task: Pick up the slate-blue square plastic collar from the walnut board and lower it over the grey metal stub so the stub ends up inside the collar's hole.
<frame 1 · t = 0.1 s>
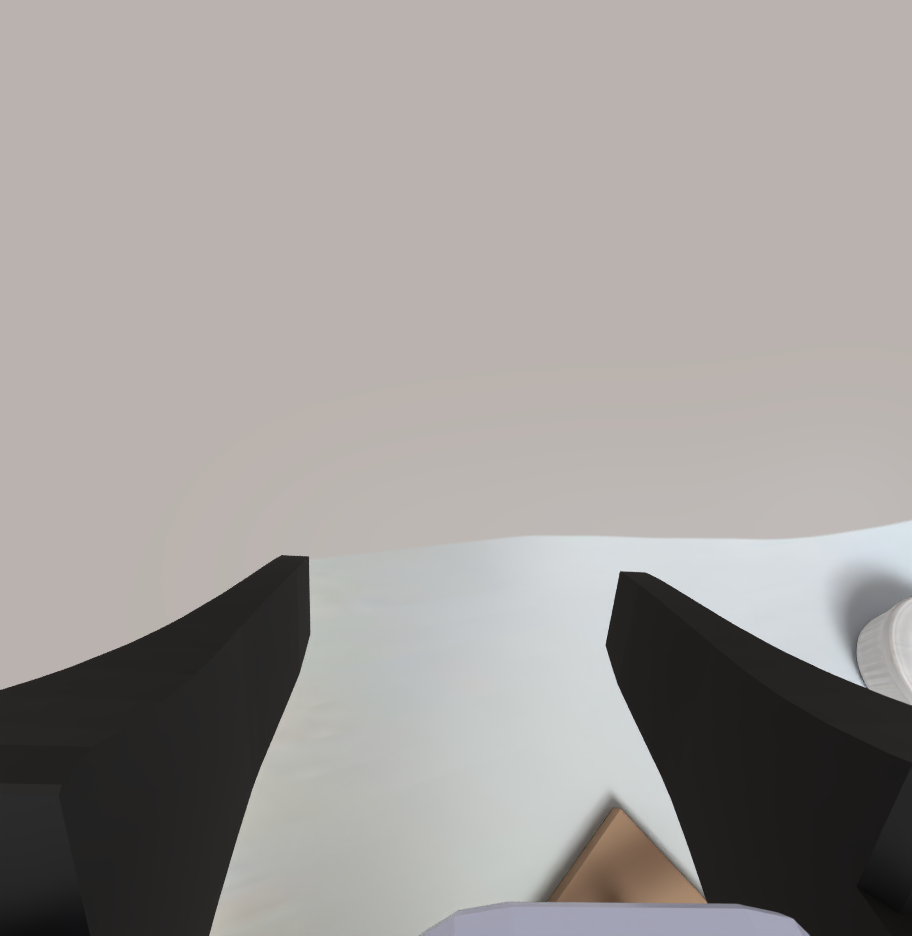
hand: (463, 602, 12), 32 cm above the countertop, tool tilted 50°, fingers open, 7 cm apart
ramekin: (904, 675, 44), on the countertop
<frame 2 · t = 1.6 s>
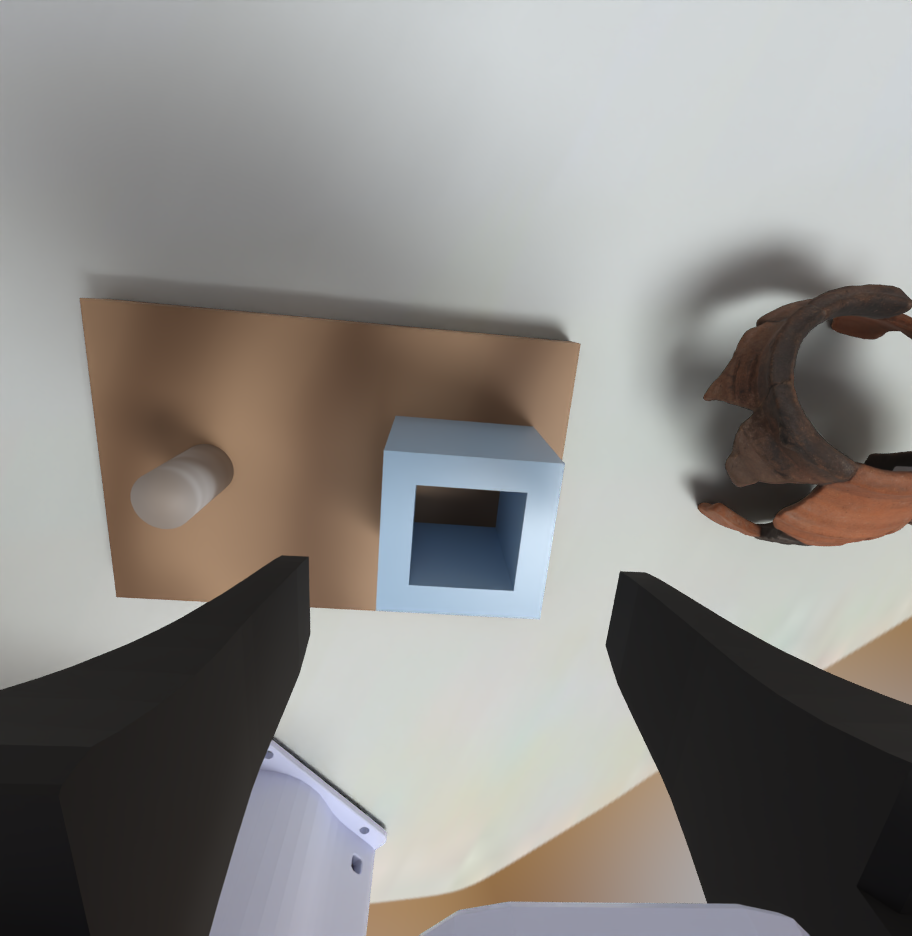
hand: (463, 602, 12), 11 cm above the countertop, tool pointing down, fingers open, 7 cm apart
stub board: (341, 466, 22), on the countertop
collar: (458, 486, 21), point 1 cm above the countertop, touching stub board
brown curled shape: (789, 429, 22), on the countertop
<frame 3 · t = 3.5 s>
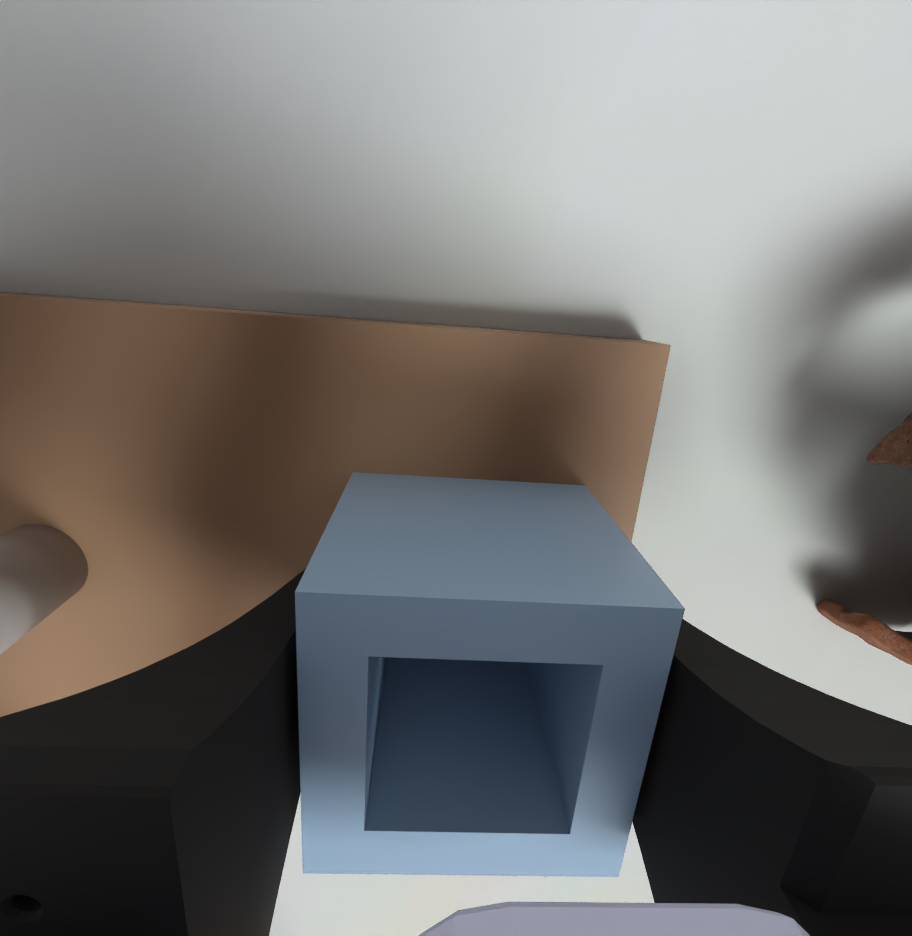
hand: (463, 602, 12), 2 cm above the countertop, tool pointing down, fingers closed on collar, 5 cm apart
stub board: (276, 544, 14), on the countertop
collar: (461, 581, 13), point 1 cm above the countertop, touching gripper, stub board
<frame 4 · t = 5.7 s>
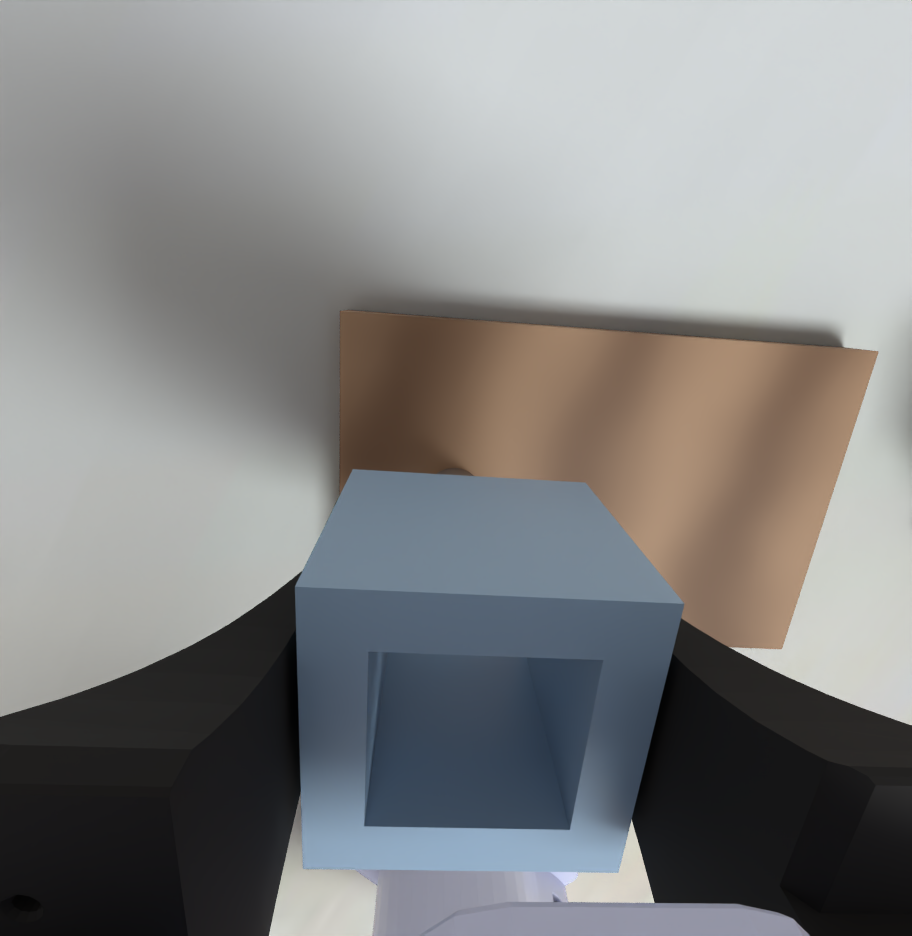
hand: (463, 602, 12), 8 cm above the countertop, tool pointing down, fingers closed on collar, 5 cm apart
stub board: (578, 487, 20), on the countertop
collar: (461, 578, 13), point 7 cm above the countertop, touching gripper
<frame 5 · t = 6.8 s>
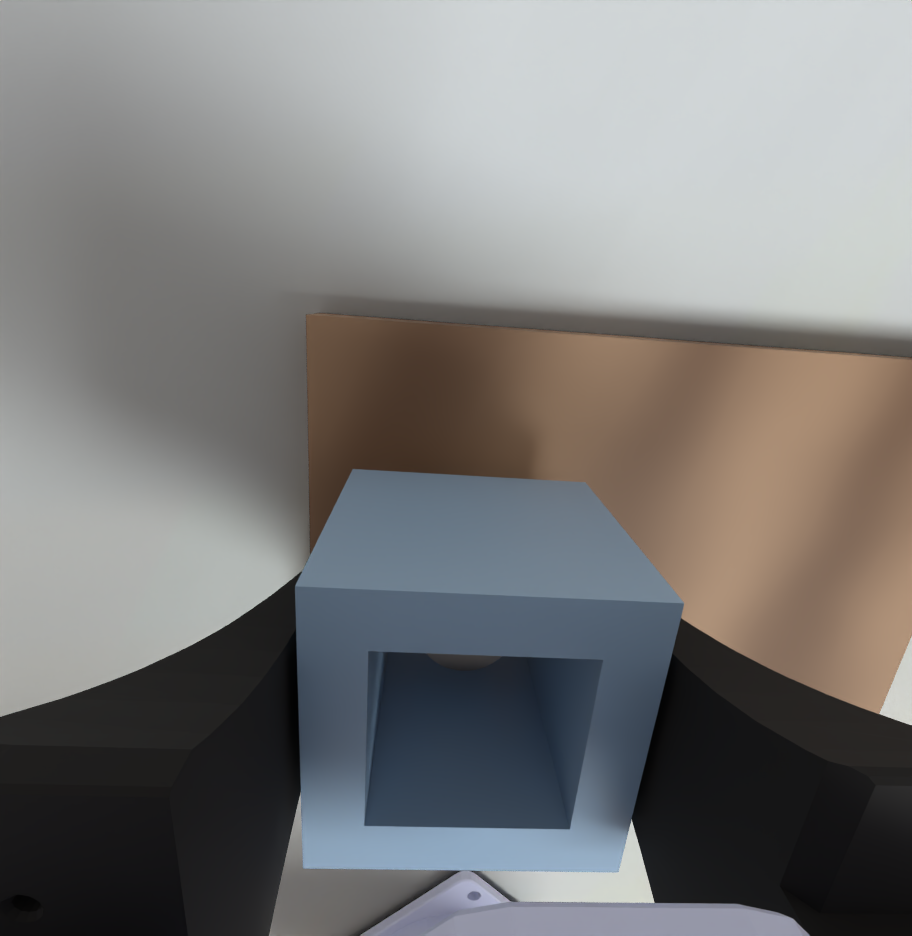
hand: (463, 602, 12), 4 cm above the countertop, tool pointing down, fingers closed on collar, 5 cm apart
stub board: (616, 537, 16), on the countertop
collar: (461, 578, 13), point 3 cm above the countertop, touching gripper
when the fingers open (4 cm above the countertop, at t = 7.9 s): collar drops 1 cm, resting on stub board.
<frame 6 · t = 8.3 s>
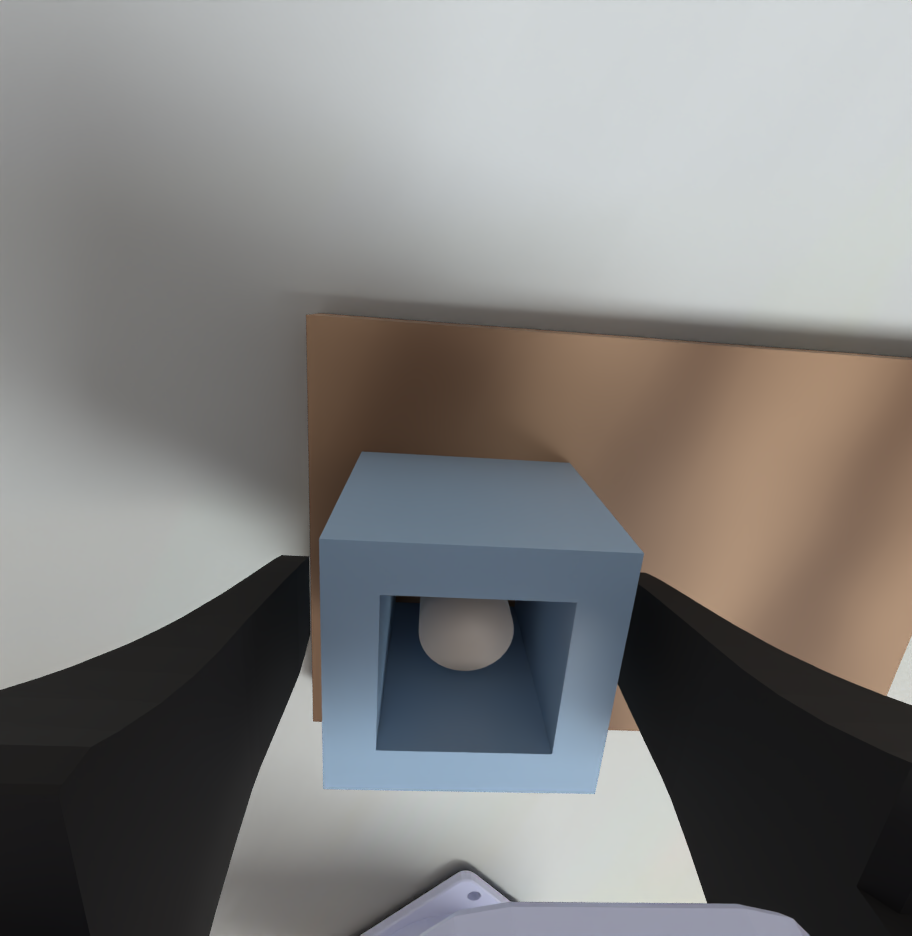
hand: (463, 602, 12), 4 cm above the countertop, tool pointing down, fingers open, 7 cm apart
stub board: (616, 537, 16), on the countertop
collar: (459, 550, 14), point 1 cm above the countertop, touching stub board
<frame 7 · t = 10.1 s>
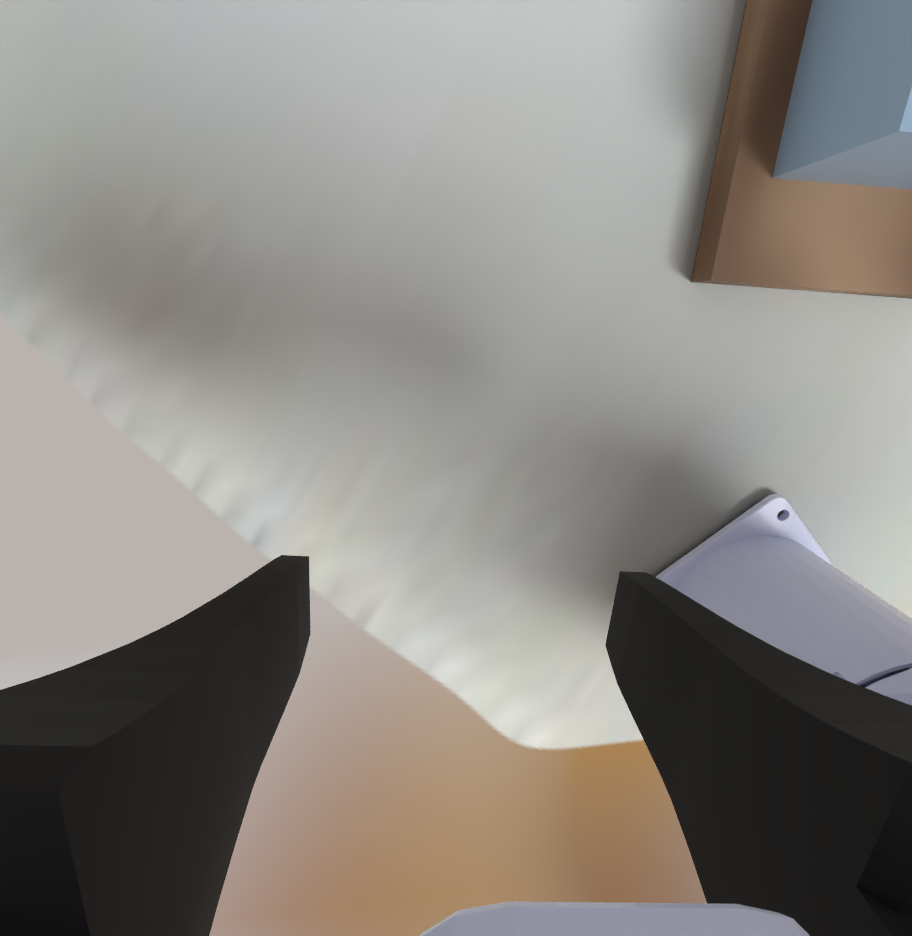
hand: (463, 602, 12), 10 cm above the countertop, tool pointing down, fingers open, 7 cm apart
collar: (873, 91, 17), point 1 cm above the countertop, touching stub board
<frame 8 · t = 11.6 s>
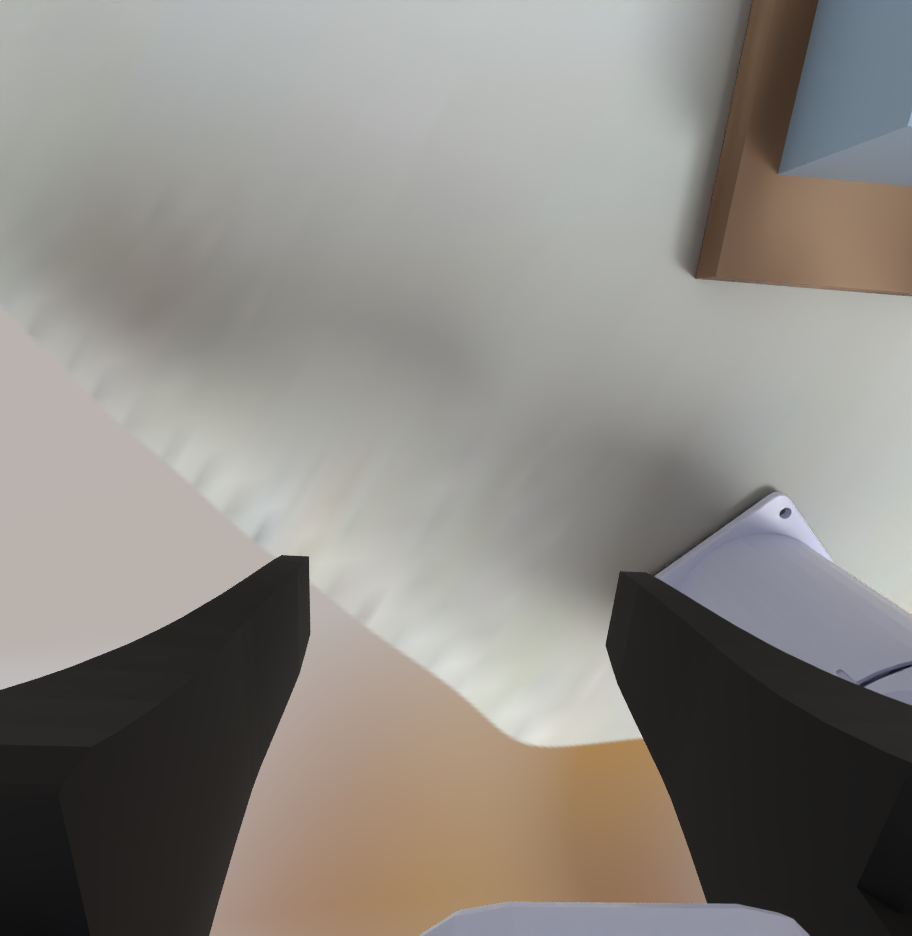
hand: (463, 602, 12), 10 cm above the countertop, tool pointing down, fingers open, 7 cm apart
collar: (880, 87, 16), point 1 cm above the countertop, touching stub board
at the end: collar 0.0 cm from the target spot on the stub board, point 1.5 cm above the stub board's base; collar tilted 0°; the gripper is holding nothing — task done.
